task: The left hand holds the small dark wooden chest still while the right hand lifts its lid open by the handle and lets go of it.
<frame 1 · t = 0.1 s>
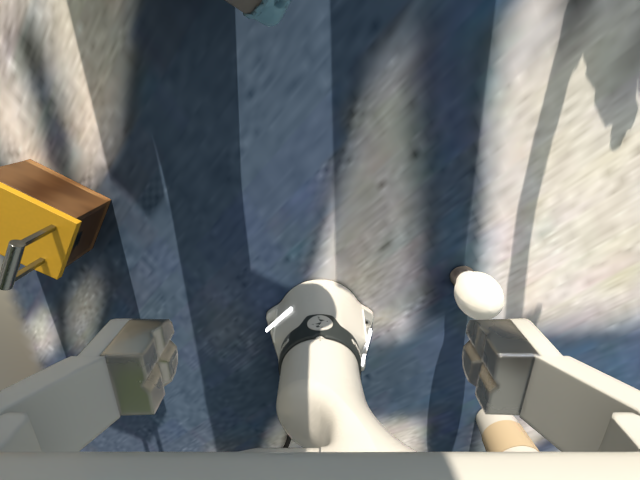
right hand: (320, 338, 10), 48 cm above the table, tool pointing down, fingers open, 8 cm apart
coffee cup: (492, 416, 75), on the table
chest: (62, 205, 59), on the table
light bulb: (462, 274, 63), on the table
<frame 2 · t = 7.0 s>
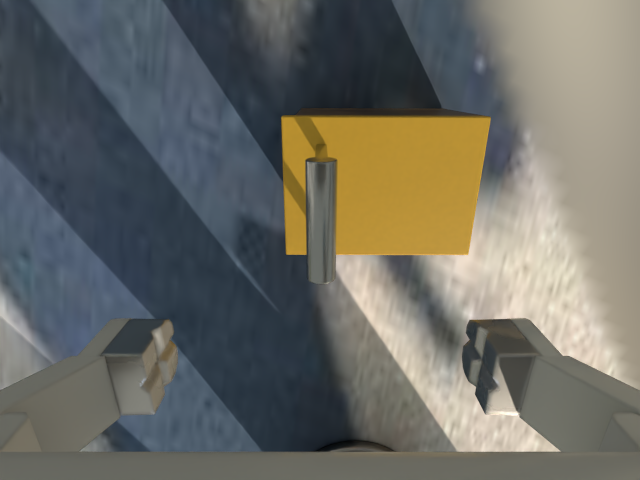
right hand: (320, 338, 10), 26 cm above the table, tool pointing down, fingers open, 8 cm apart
chest: (369, 163, 35), on the table
lid: (388, 203, 23), point 13 cm above the table, hinge at 0.0°
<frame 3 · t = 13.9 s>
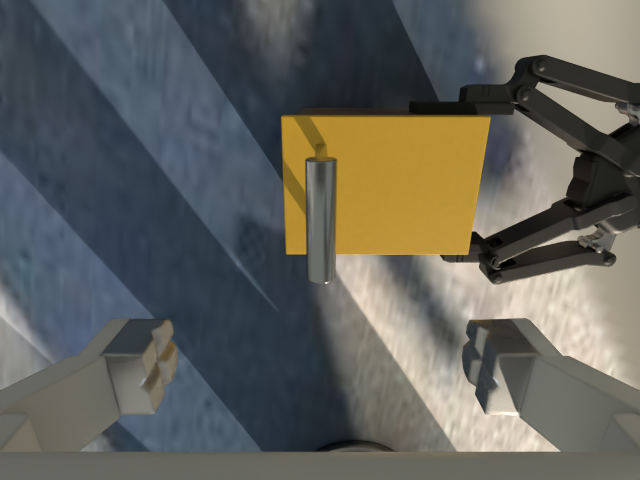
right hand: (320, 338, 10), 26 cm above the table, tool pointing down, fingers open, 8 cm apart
left hand: (407, 179, 29), fingers closed on chest, 10 cm apart
chest: (369, 162, 35), on the table, touching left hand
lid: (388, 203, 23), point 13 cm above the table, hinge at 0.0°
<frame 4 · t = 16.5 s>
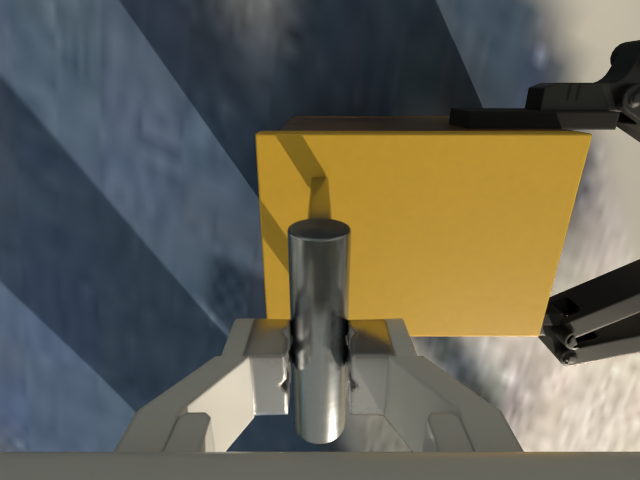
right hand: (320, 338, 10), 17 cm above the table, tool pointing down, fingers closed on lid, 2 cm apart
chest: (384, 189, 26), on the table, touching left hand
lid: (431, 279, 14), point 13 cm above the table, hinge at 0.0°, touching right hand
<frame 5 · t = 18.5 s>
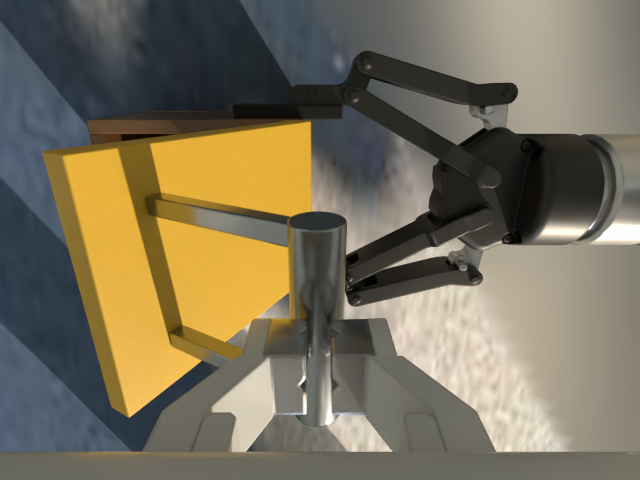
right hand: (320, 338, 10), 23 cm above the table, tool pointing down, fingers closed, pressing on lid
left hand: (243, 190, 26), fingers closed on chest, 10 cm apart
chest: (233, 170, 32), on the table, touching left hand
lid: (295, 252, 16), point 17 cm above the table, hinge at 59.9°, touching right hand
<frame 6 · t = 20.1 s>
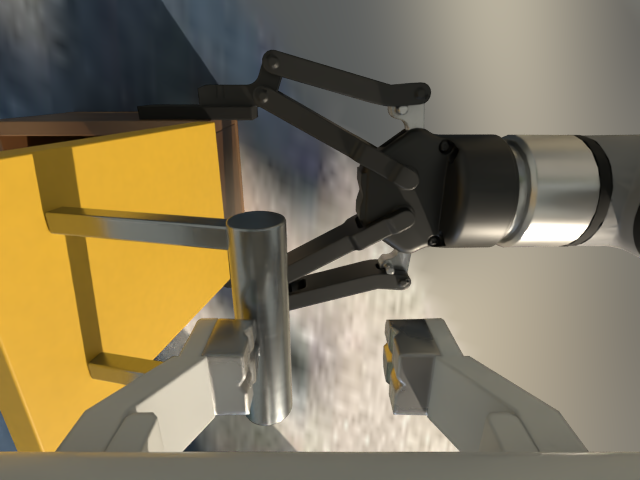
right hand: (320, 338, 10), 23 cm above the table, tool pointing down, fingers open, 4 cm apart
left hand: (160, 194, 25), fingers closed on chest, 10 cm apart
chest: (165, 173, 31), on the table, touching left hand
lid: (220, 256, 16), point 17 cm above the table, hinge at 75.5°, touching right hand
when the left hand's fingers open (7 cm above the table, at t = 23.3 s): chest stays where it is, on the table.
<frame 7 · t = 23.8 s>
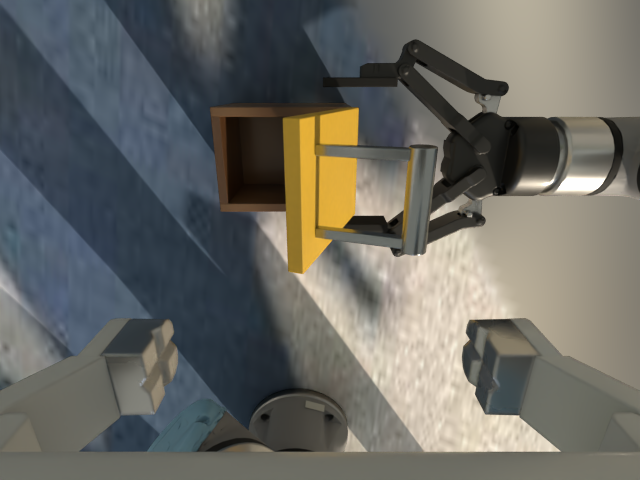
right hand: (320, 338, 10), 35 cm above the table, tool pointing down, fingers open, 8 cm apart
left hand: (322, 157, 37), fingers open, 13 cm apart
chest: (290, 147, 43), on the table
lid: (375, 182, 27), point 17 cm above the table, hinge at 70.5°
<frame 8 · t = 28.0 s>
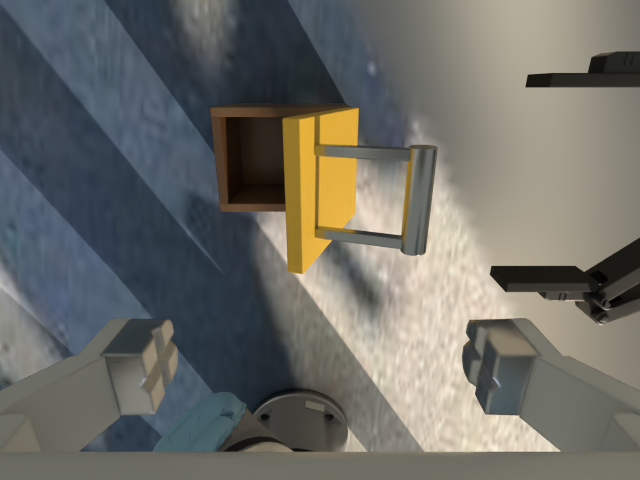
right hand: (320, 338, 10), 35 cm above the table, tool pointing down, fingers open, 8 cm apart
chest: (290, 147, 43), on the table
lid: (375, 182, 27), point 17 cm above the table, hinge at 70.5°
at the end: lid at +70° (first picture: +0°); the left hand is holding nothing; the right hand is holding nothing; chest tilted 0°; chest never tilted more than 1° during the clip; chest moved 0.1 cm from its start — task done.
